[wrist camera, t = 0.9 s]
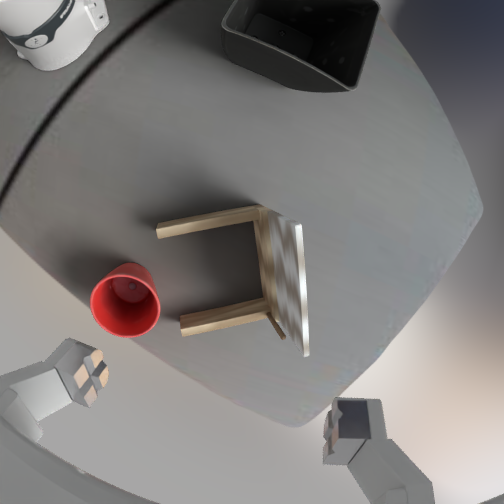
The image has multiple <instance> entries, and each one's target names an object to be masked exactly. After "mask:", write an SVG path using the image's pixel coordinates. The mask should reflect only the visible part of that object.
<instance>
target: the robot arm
mask: <svg viewBox="0 0 504 504" xmlns="http://www.w3.org/2000/svg"><path fill="white" fill-rule="evenodd" d="M101 17H103V18H101ZM100 18H101V19H100ZM108 24H109V16H108V12H107V8H106V4H105V0H0V30H1V31H2V33H3V35H4V36H5V37H6V39H7V40H9V42H10V43H11V44H12V45H13V46H14V47H15V48H16V49H17V50H18V52H17V55H18V56H19V57H20V58H22V59H26V60H29V61H30V62H31V64H32V65H33V66H34V67H36V68H37V69H40V70H44V71H50V70H56V69H59V68H62V67H64V66H66V65H68V64H70V63H71V62H73V61H74V60H75V59H77V58H78V57H79V56H80V55H81V54H82V53H83V52H84V51H85V50H86V49H87V48H88V46H89V45H90V44H91V42H92V40H93V39H94V37H95V36H96V35H97V34H98V33H99V32H101V31H102V30H103V29H104V28H105V27H106V26H107V25H108ZM103 358H104V356H103V353H102V351H101V350H99V349H96V348H93V347H91V346H89V345H86V344H84V343H81V342H79V341H76V340H74V339H71V338H68V339H65V340H64V342H63V343H61V345H60V346H59V347H58V348H57V349H56V350H55V351H54V352H53V353H52V354H51V355H50V356H49V357H48V358H47V359H46V360H45V362H42V361H41V362H38V363H35V364H32V365H30V366H27V367H24V368H21V369H18V370H16V371H13V372H10V373H7V374H4V375H1V376H0V504H159V503H156V502H154V501H150V500H148V499H145V498H143V497H140V496H137V495H135V494H132V493H130V492H127V491H125V490H123V489H120V488H118V487H116V486H114V485H111V484H109V483H107V482H105V481H103V480H101V479H98V478H96V477H95V476H93V475H91V474H89V473H87V472H85V471H83V470H81V469H79V468H77V467H76V466H74V465H72V464H70V463H69V462H67V461H65V460H63V459H62V458H60V457H58V456H57V455H55V454H53V453H52V452H50V451H49V450H47V449H46V448H44V447H43V446H41V445H40V444H38V443H37V442H38V440H39V439H40V437H41V436H42V434H43V429H42V428H41V426H40V425H39V424H38V422H37V421H39V420H41V419H43V418H45V417H46V416H48V415H50V414H52V413H54V412H55V411H57V410H59V409H61V408H62V407H64V406H66V405H68V404H70V403H71V402H72V401H75V402H77V403H79V404H81V405H83V406H86V407H88V408H90V407H91V405H92V404H93V402H94V401H95V399H96V398H97V396H98V395H97V391H98V390H100V389H102V388H104V386H105V385H106V383H107V380H108V377H109V370H108V367H107V365H106V364H105V363H104V362H103V360H102V359H103ZM323 437H324V438H325V440H326V441H327V442H326V443H325V445H324V447H323V464H330V465H348V466H347V467H348V469H349V470H350V472H351V473H352V475H353V476H354V478H355V480H356V481H357V483H358V484H359V486H360V487H361V489H362V490H363V492H364V494H365V495H366V497H367V498H368V500H369V501H370V503H371V504H435V500H434V493H433V486H432V482H431V481H430V480H429V479H428V478H427V477H426V476H425V475H424V473H422V471H421V470H420V469H419V468H418V467H417V466H416V465H415V464H414V463H413V462H412V461H411V460H410V459H409V457H408V456H407V455H406V454H405V453H404V452H403V451H402V450H401V449H400V448H399V447H398V445H396V443H395V442H394V441H393V440H392V439H387V433H386V426H385V420H384V414H383V408H382V402H381V400H380V399H364V398H340V397H335V398H334V400H333V402H332V410H330V411H329V412H328V414H327V416H326V420H325V424H324V435H323ZM479 504H504V494H502V495H499V496H497V497H494V498H492V499H489V500H487V501H484V502H482V503H479Z"/></svg>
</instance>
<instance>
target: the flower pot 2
mask: <svg viewBox="0 0 504 504" xmlns="http://www.w3.org/2000/svg"><path fill="white" fill-rule="evenodd" d="M380 10H381V7H380V5H379V3H378V2H377V1H375V0H234V1H233V3H232V5H231V6H230V8H229V9H228V11H227V13H226V14H225V16H224V18H223V19H222V22H221V40H222V45H223V48H224V51H225V53H226V55H227V56H228V58H229V59H230V60H231V61H232V62H233V63H234V64H237V65H239V66H242V67H244V68H246V69H249V70H251V71H254V72H256V73H258V74H261V75H263V76H265V77H267V78H270V79H272V80H274V81H276V82H278V83H280V84H282V85H284V86H287V87H289V88H291V89H295V90H300V91H308V92H322V93H327V92H345V91H353V90H355V89H356V88H357V86H358V84H359V80H360V77H361V74H362V71H363V68H364V64H365V61H366V57H367V54H368V51H369V47H370V44H371V41H372V37H373V34H374V30H375V27H376V24H377V20H378V17H379V14H380ZM280 30H283V31H284V32H285V33H286V35H285V36H281V35H280V34H279V31H280ZM253 36H255V37H257V38H258V39H256V38H253ZM272 45H277V46H278V47H279V48H277V47H274V46H272ZM294 55H297V57H298V58H297V57H295V56H294Z"/></svg>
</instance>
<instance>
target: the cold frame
mask: <svg viewBox="0 0 504 504" xmlns="http://www.w3.org/2000/svg"><path fill="white" fill-rule="evenodd" d="M249 221H253V222H254V230H255V237H256V245H257V253H258V260H259V268H260V276H261V284H262V292H263V298H259V299H255V300H251V301H246V302H242V303H238V304H233V305H229V306H224V307H219V308H215V309H210V310H205V311H201V312H196V313H191V314H186V315H181V316H180V326H181V332H182V336H183V337H184V336H189V335H194V334H199V333H203V332H208V331H213V330H217V329H222V328H226V327H231V326H235V325H240V324H244V323H248V322H252V321H256V320H260V319H265V318H269V320H270V322H271V323H272V325H273V326H274V328H275V330H276V331H277V333H278V334H279V336H280V338H281V339H282V340H284V339H285V338H286V336H285V334H284V333H283V331H282V330H281V328H280V327H279V325H278V324H277V322H278V321H280V323H281V324H282V326H283V327H284V329H285V330H286V332H287V333H288V334H289V336H290V337H291V339H292V340H293V342H294V343H295V345H296V346H297V348H298V349H299V351H300V352H301V353H302V355H303V356H304V357H306V356H309V335H308V312H307V293H306V277H305V262H304V249H303V236H302V224H300V223H298V222H296V221H293V220H291V219H289V218H287V217H285V216H283V215H281V214H279V213H277V212H275V211H273V210H271V209H268V208H266V207H264V206H262V205H260V204H259V205H253V206H247V207H241V208H236V209H230V210H224V211H219V212H213V213H208V214H202V215H197V216H192V217H187V218H182V219H177V220H172V221H167V222H162V223H158V225H157V228H156V231H157V236H158V239H160V238H165V237H170V236H175V235H180V234H185V233H190V232H195V231H201V230H206V229H211V228H216V227H221V226H227V225H232V224H238V223H243V222H249Z"/></svg>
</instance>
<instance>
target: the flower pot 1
mask: <svg viewBox="0 0 504 504" xmlns="http://www.w3.org/2000/svg"><path fill="white" fill-rule="evenodd" d="M90 308H91V312H92V314H93V316H94V319H95V320H96V322H97V323H98V324H99V325H100V326H101V327H102V328H103V329H104V330H106V331H107V332H109V333H111V334H113V335H116V336H119V337H125V338H131V337H137V336H141V335H143V334H145V333H147V332H148V331H149V330H151V329H152V328H153V327H154V325H155V324H156V322H157V320H158V318H159V315H160V302H159V298H158V295H157V292H156V288H155V285H154V282H153V280H152V277H151V275H150V273H149V272H148V271H147V270H146V269H145V268H144V267H143V266H141V265H139V264H136V263H125V264H122V265H120V266H118V267H117V268H115V269H114V270H113V271H111V272H110V273H109V274H107V275H106V276H105V277H104V278H102V279H101V280H100V281H99V282H98V283H97V284H96V286H95V287H94V289H93V291H92V293H91V297H90Z"/></svg>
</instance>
